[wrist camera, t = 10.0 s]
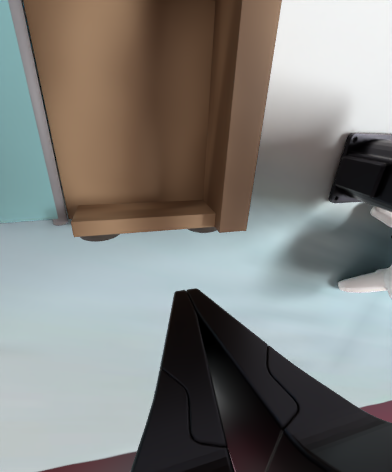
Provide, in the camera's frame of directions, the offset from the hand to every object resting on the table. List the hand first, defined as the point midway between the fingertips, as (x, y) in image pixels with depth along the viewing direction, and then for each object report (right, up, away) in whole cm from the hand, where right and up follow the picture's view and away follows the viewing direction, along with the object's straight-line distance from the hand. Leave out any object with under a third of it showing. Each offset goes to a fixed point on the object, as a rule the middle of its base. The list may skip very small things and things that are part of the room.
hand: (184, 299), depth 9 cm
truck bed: (-3, +11, +8) cm, 14 cm away
